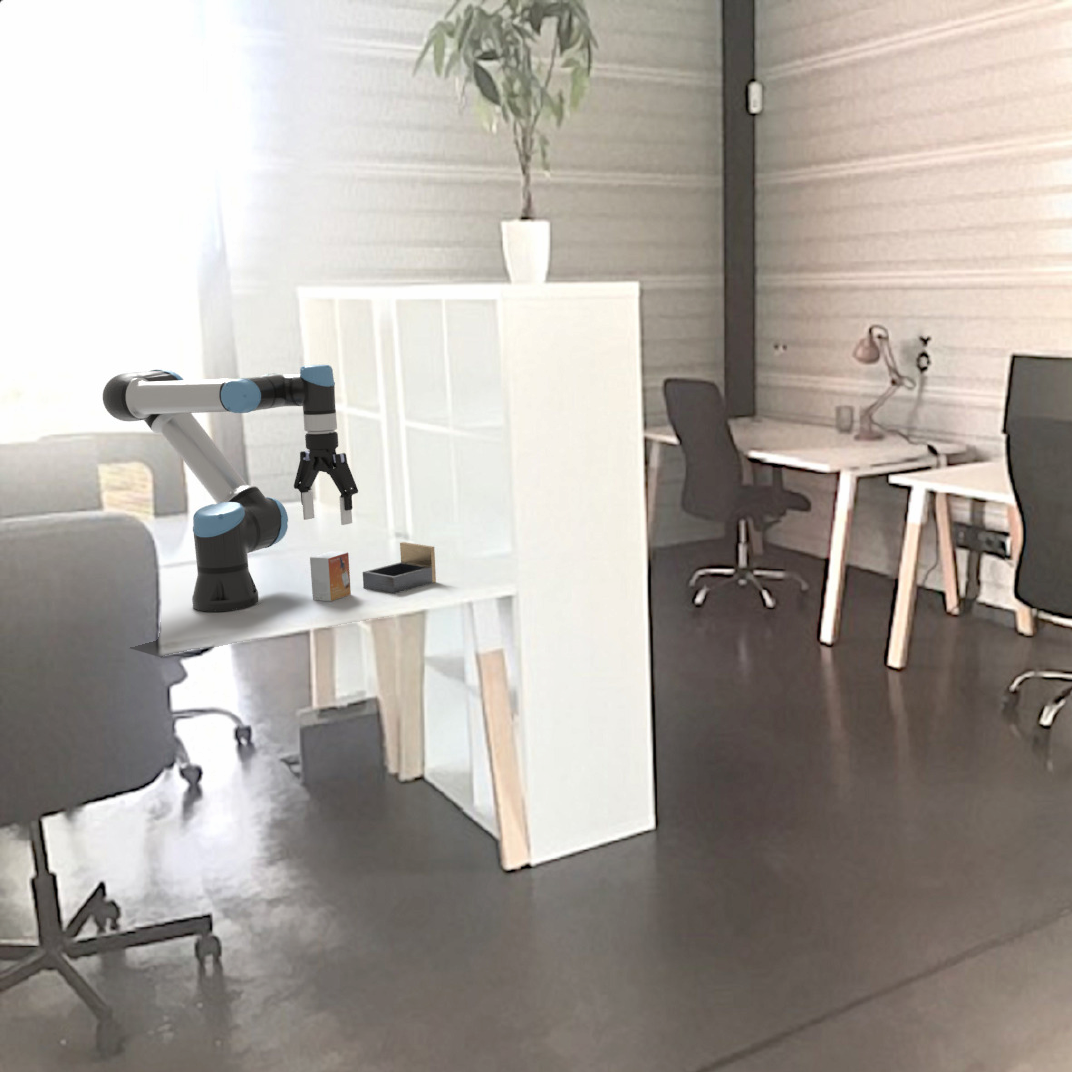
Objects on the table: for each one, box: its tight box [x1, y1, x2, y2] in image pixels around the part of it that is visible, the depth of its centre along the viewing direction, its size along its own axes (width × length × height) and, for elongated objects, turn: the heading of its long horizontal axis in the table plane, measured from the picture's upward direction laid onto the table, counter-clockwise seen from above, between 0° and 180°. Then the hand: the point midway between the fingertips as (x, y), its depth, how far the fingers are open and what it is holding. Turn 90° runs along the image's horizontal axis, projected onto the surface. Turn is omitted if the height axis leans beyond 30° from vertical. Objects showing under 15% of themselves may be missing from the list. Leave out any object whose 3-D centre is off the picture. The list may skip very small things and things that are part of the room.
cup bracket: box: [362, 541, 437, 595], centre depth 292 cm, size 11×14×9 cm
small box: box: [309, 550, 352, 602], centre depth 282 cm, size 8×6×10 cm
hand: (327, 521), depth 279 cm, fingers open, 13 cm apart
